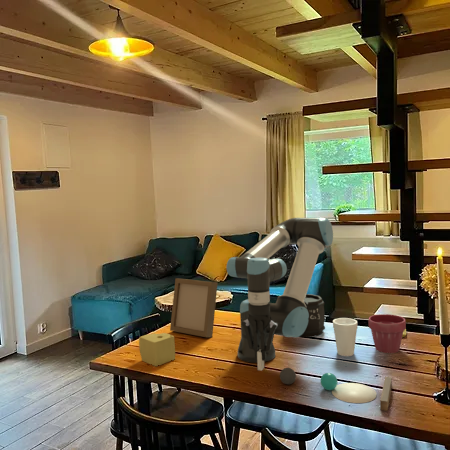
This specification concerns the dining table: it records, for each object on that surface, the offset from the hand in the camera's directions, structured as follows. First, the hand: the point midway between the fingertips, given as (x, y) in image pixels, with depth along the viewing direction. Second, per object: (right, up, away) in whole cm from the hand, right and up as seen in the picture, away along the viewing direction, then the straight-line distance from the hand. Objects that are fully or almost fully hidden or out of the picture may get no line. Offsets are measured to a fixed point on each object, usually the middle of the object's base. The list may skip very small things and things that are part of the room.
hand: (260, 368), depth 163 cm
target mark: (+29, -4, -12) cm, 32 cm away
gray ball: (+9, -1, -3) cm, 10 cm away
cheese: (-39, -4, +23) cm, 46 cm away
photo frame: (-25, 0, +58) cm, 63 cm away
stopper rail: (+38, -4, -16) cm, 42 cm away
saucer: (+63, +2, +42) cm, 75 cm away
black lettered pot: (+24, +1, +51) cm, 57 cm away
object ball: (+22, -1, -9) cm, 24 cm away
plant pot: (+53, 0, +25) cm, 58 cm away
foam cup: (+36, -1, +22) cm, 42 cm away
